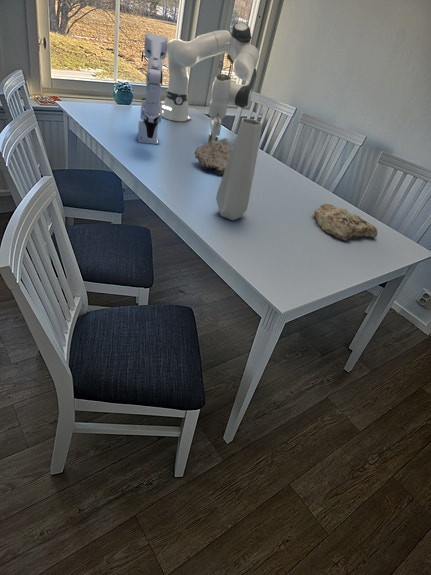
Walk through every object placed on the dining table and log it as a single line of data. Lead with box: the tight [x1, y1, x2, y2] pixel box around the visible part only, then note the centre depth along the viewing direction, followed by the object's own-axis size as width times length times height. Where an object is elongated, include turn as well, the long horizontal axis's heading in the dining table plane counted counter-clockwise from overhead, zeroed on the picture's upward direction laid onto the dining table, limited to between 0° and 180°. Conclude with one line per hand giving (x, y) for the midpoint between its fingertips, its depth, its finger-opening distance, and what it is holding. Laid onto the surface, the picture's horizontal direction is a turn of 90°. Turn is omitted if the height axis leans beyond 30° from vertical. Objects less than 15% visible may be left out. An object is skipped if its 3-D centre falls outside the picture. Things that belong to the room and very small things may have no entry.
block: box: [207, 132, 219, 143], centre depth 196 cm, size 4×4×4 cm
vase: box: [215, 117, 263, 221], centre depth 128 cm, size 12×12×33 cm
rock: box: [193, 138, 232, 176], centre depth 167 cm, size 15×17×15 cm
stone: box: [313, 203, 378, 242], centre depth 145 cm, size 19×6×25 cm
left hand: (150, 134), depth 165 cm, fingers open, 7 cm apart
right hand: (212, 139), depth 196 cm, fingers closed on block, 4 cm apart
